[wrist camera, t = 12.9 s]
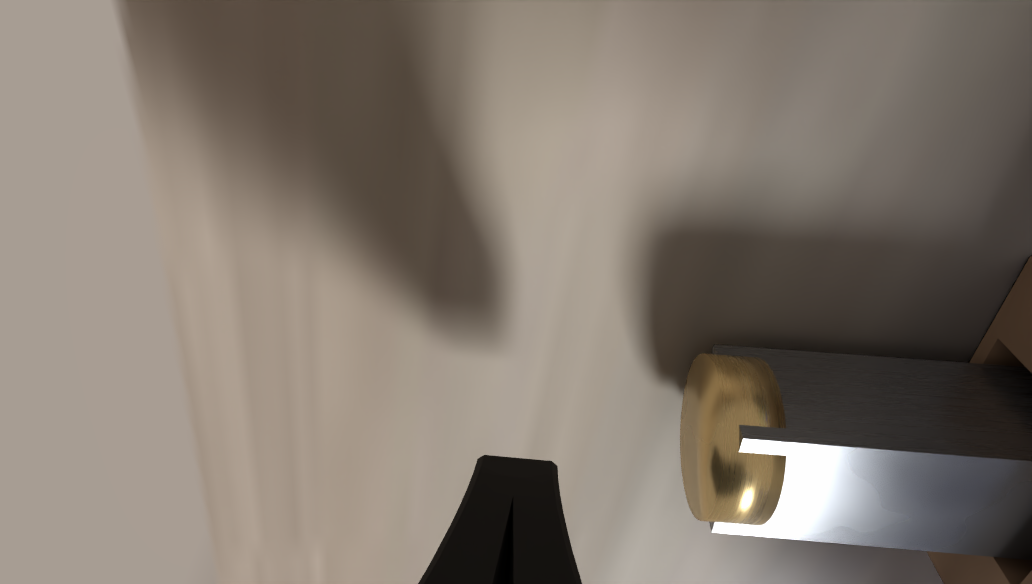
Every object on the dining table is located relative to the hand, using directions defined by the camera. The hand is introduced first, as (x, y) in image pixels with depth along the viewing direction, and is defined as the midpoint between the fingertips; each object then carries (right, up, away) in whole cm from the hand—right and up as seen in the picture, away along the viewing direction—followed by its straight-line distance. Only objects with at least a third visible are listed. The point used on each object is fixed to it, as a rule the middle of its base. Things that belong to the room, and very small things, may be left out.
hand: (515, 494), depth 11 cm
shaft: (+10, +2, +1) cm, 11 cm away
